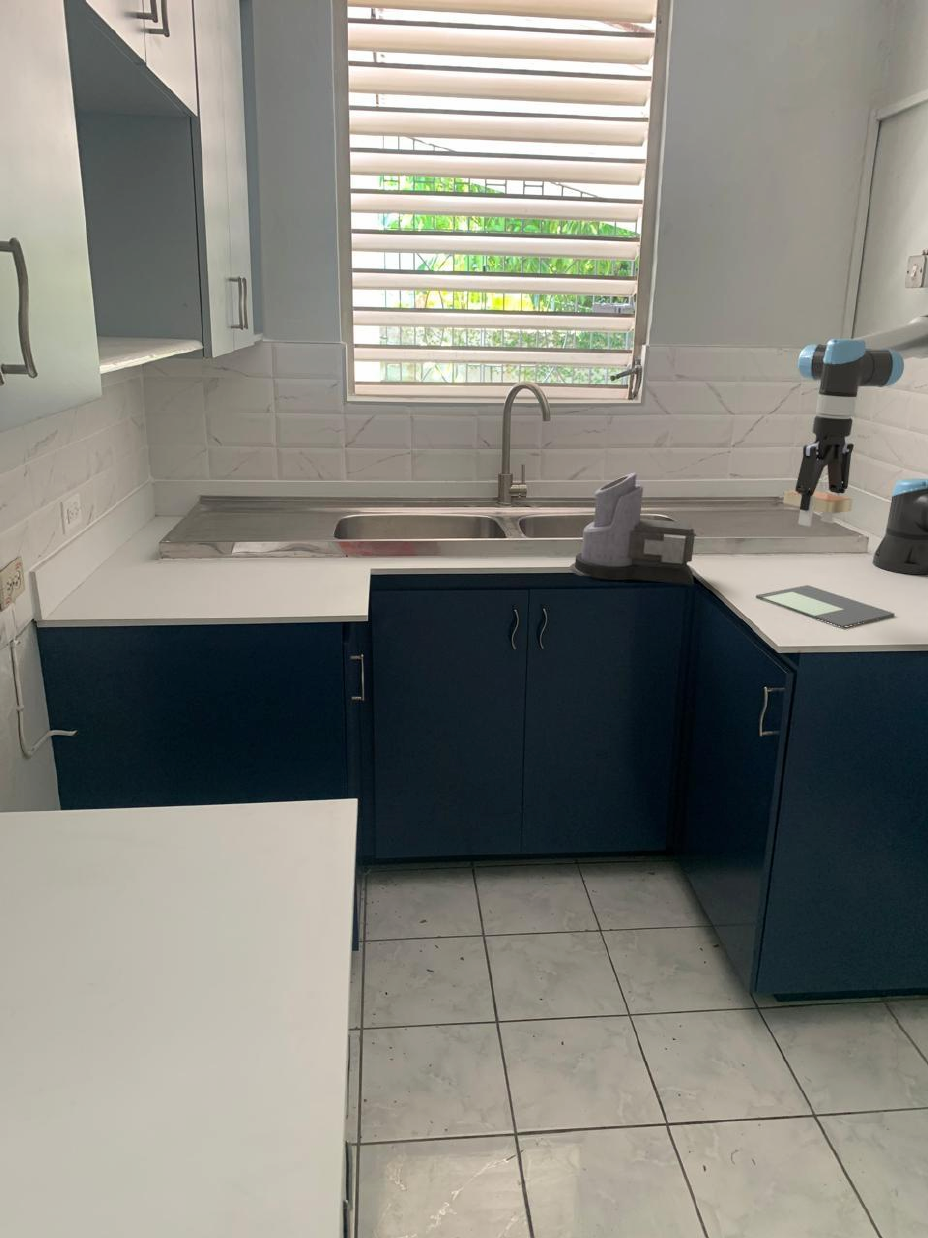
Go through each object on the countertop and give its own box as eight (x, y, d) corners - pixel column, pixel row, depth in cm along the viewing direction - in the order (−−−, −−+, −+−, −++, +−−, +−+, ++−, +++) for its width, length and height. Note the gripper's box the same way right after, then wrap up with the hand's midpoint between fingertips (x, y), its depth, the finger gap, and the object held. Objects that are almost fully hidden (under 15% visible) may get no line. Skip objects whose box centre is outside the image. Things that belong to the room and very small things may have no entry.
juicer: (566, 576, 224) (574, 474, 216) (572, 558, 239) (580, 463, 231) (694, 587, 219) (707, 484, 211) (692, 569, 234) (704, 472, 226)
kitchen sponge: (805, 488, 207) (852, 498, 198) (803, 499, 208) (850, 510, 199) (784, 490, 204) (831, 501, 194) (783, 502, 205) (829, 514, 195)
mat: (807, 587, 222) (807, 585, 222) (894, 616, 204) (894, 613, 204) (755, 597, 213) (756, 595, 213) (842, 628, 195) (842, 625, 195)
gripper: (848, 412, 203) (830, 515, 210) (787, 415, 193) (771, 523, 200) (879, 416, 197) (859, 522, 204) (818, 419, 187) (799, 531, 194)
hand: (815, 523), depth 202 cm, fingers closed on kitchen sponge, 7 cm apart
